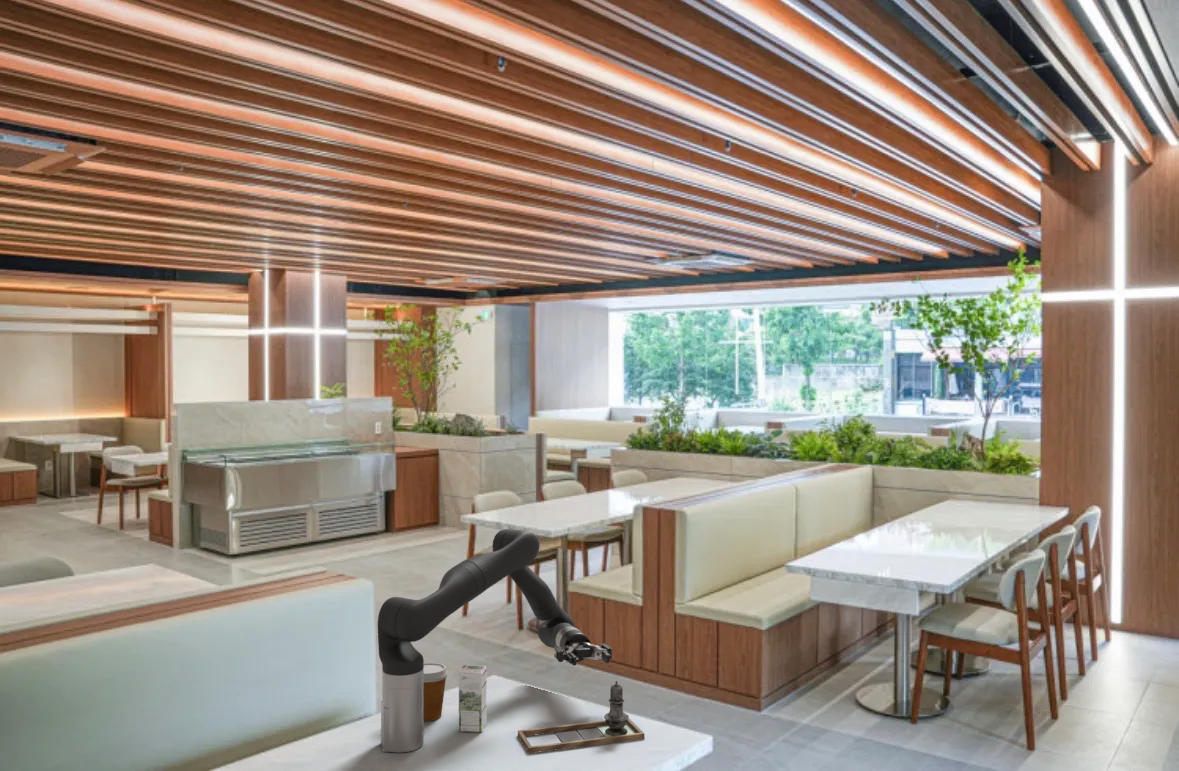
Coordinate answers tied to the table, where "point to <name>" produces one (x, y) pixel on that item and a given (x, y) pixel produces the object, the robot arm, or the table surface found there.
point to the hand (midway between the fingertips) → (591, 660)
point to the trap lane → (574, 740)
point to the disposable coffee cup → (433, 690)
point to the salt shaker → (616, 712)
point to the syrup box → (472, 698)
